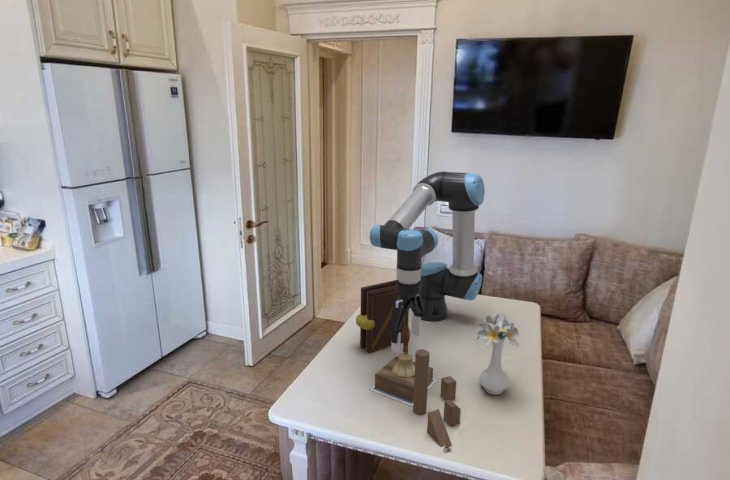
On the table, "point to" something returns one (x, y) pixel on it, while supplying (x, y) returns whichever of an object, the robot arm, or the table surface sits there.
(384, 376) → the walnut plinth
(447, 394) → the wooden blocks
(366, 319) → the book
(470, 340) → the table surface
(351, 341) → the table surface
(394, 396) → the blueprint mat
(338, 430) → the table surface
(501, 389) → the flower vase
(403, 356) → the hand bell
